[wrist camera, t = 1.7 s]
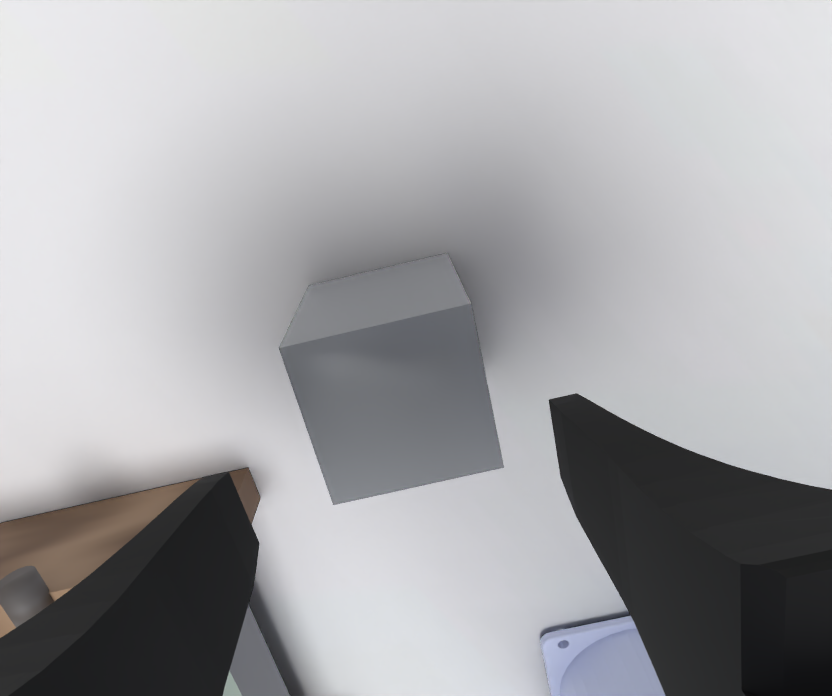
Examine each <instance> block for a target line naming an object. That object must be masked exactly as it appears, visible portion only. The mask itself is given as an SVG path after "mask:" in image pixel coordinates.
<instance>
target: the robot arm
mask: <svg viewBox="0 0 832 696" xmlns="http://www.w3.org/2000/svg"><path fill="white" fill-rule="evenodd" d="M549 405H550V411H551V418H552V424H553V430H554V437H555V443H556V450H557V456H558V463H559V469H560V476H561V479H562V482H563V484H564V487H565V489H566V492H567V495H568V497H569V500H570V502H571V505H572V507H573V509H574V512H575V514H576V517H577V518H578V520H579V522H580V524H581V526H582V528H583V530H584V531H585V533H586V535H587V537H588V539H589V540H590V542H591V544H592V546H593V548H594V549H595V551H596V553H597V555H598V557H599V558H600V560H601V562H602V564H603V566H604V567H605V569H606V571H607V573H608V574H609V576H610V578H611V580H612V582H613V583H614V585H615V587H616V589H617V591H618V592H619V594H620V596H621V598H622V600H623V601H624V603H625V605H626V607H627V609H628V611H629V613H630V615H631V616H626V617H621V618H617V619H612V620H607V621H602V622H597V623H592V624H587V625H583V626H578V627H573V628H568V629H563V630H558V631H554V632H549V633H546V634H545V635H543V636H542V638H541V639H540V643H541V649H542V654H543V659H544V664H545V669H546V674H547V679H548V684H549V689H550V694H551V696H832V490H830V489H825V488H820V487H814V486H809V485H805V484H800V483H795V482H791V481H786V480H782V479H778V478H775V477H771V476H767V475H763V474H759V473H756V472H752V471H748V470H745V469H741V468H738V467H735V466H731V465H728V464H725V463H723V462H720V461H717V460H714V459H711V458H708V457H705V456H703V455H700V454H697V453H694V452H692V451H689V450H687V449H684V448H682V447H679V446H677V445H675V444H673V443H670V442H668V441H666V440H664V439H661V438H659V437H657V436H655V435H653V434H651V433H649V432H647V431H645V430H643V429H641V428H639V427H637V426H635V425H633V424H631V423H629V422H627V421H625V420H623V419H621V418H620V417H618V416H616V415H614V414H612V413H611V412H609V411H607V410H605V409H604V408H602V407H600V406H598V405H596V404H595V403H593V402H591V401H590V400H588V399H586V398H584V397H582V396H581V395H579V394H577V393H576V394H572V395H568V396H563V397H559V398H554V399H550V400H549ZM258 549H259V541H258V539H257V537H256V534H255V532H254V530H253V527H252V525H251V522H250V520H249V518H248V515H247V513H246V511H245V508H244V506H243V504H242V501H241V499H240V497H239V494H238V492H237V490H236V487H235V485H234V482H233V480H232V478H231V475H230V473H229V472H224V473H220V474H215V475H211V476H206V477H202V478H201V479H200V480H198V481H197V482H195V483H194V484H193V485H192V486H190V487H189V488H188V489H187V490H186V491H185V492H183V493H182V494H181V495H180V496H179V497H178V498H177V499H175V500H174V501H173V502H172V503H171V504H170V505H169V506H168V507H167V508H166V509H164V510H163V511H162V512H161V513H160V514H159V515H158V516H157V517H156V518H154V519H153V520H152V521H151V522H150V523H149V524H148V525H147V526H146V527H145V528H143V529H142V530H141V531H140V532H139V533H138V534H137V535H136V536H135V537H133V538H132V539H131V540H130V541H129V542H128V543H126V544H125V545H124V546H123V547H122V548H121V549H119V550H118V551H117V552H116V553H115V554H114V555H112V556H111V557H110V558H109V559H108V560H106V561H105V562H104V563H103V564H102V565H101V566H99V567H98V568H97V569H96V570H95V571H94V572H92V573H91V574H90V575H89V576H87V577H86V578H85V579H84V580H82V581H81V582H80V583H78V584H77V585H76V586H74V587H73V588H72V589H71V590H69V591H68V592H67V593H65V594H64V595H62V596H61V597H60V598H58V599H57V600H56V601H54V602H53V603H52V604H50V605H49V606H47V607H46V608H45V609H43V610H42V611H40V612H39V613H38V614H36V615H35V616H33V617H32V618H30V619H29V620H27V621H26V622H24V623H23V624H21V625H20V626H18V627H16V628H15V629H13V630H12V631H10V632H9V633H7V634H6V635H4V636H3V637H1V638H0V696H223V692H224V688H225V684H226V681H227V677H228V674H229V670H230V667H231V664H232V660H233V657H234V653H235V650H236V646H237V643H238V639H239V636H240V632H241V629H242V626H243V622H244V619H245V615H246V611H247V608H248V604H249V601H250V597H251V593H252V589H253V586H254V579H255V573H256V566H257V558H258ZM562 640H563V641H562Z"/></svg>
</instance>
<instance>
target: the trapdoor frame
mask: <svg viewBox="0 0 832 696" xmlns="http://www.w3.org/2000/svg"><path fill="white" fill-rule="evenodd" d="M229 473H230V475H231V478H232V480H233V482H234V485H235V487H236V490H237V492H238V494H239V497H240V499H241V501H242V504H243V506H244V508H245V511H246V513H247V515H248V518H249V520H250V522H251V524H252V521H253V518H254V515H255V513H256V510H257V507H258V504H259V501H260V496H259V493H258V491H257V488H256V486H255V483H254V481H253V478H252V476H251V473H250V471H249V468H245V469H240V470H236V471H231V472H229ZM200 479H201V478H200ZM200 479H195V480H191V481H186V482H182V483H178V484H173V485H169V486H164V487H160V488H155V489H151V490H146V491H142V492H137V493H133V494H128V495H124V496H119V497H115V498H110V499H106V500H102V501H97V502H93V503H88V504H84V505H79V506H75V507H70V508H66V509H61V510H57V511H52V512H48V513H43V514H39V515H34V516H30V517H26V518H21V519H17V520H12V521H8V522H3V523H0V638H1V637H3V636H4V635H6V634H7V633H9V632H10V631H12V630H13V629H15V628H16V627H18V626H20V625H21V624H23V623H24V622H26V621H27V620H29V619H30V618H32V617H33V616H35V615H36V614H38V613H39V612H40V611H42V610H43V609H45V608H46V607H47V606H49V605H50V604H52V603H53V602H54V601H56V600H57V599H58V598H60V597H61V596H62V595H64V594H65V593H67V592H68V591H69V590H71V589H72V588H73V587H74V586H76V585H77V584H78V583H80V582H81V581H82V580H84V579H85V578H86V577H87V576H89V575H90V574H91V573H92V572H94V571H95V570H96V569H97V568H98V567H99V566H101V565H102V564H103V563H104V562H105V561H106V560H108V559H109V558H110V557H111V556H112V555H114V554H115V553H116V552H117V551H118V550H119V549H121V548H122V547H123V546H124V545H125V544H126V543H128V542H129V541H130V540H131V539H132V538H133V537H135V536H136V535H137V534H138V533H139V532H140V531H141V530H142V529H143V528H145V527H146V526H147V525H148V524H149V523H150V522H151V521H152V520H153V519H154V518H156V517H157V516H158V515H159V514H160V513H161V512H162V511H163V510H164V509H166V508H167V507H168V506H169V505H170V504H171V503H172V502H173V501H174V500H175V499H177V498H178V497H179V496H180V495H181V494H182V493H183V492H185V491H186V490H187V489H188V488H189V487H190V486H192V485H193V484H194V483H195V482H197V481H198V480H200Z"/></svg>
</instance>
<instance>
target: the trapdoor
mask: <svg viewBox="0 0 832 696" xmlns="http://www.w3.org/2000/svg"><path fill="white" fill-rule="evenodd" d="M223 696H290V694H289V692H288V690H287V688H286V686H285V683H284V681H283V679H282V677H281V675H280V673H279V670H278V668H277V666H276V664H275V662H274V659H273V657H272V655H271V653H270V651H269V648H268V646H267V644H266V642H265V640H264V637H263V635H262V633H261V631H260V629H259V626H258V624H257V622H256V620H255V618H254V615H253V613H252V611H251V609H250V607H249V604H248V608H247V611H246V615H245V619H244V622H243V626H242V629H241V632H240V636H239V639H238V643H237V646H236V650H235V653H234V657H233V660H232V664H231V667H230V670H229V674H228V677H227V681H226V684H225V688H224V692H223Z"/></svg>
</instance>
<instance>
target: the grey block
mask: <svg viewBox="0 0 832 696" xmlns="http://www.w3.org/2000/svg"><path fill="white" fill-rule="evenodd" d="M279 350H280V353H281V356H282V358H283V361H284V364H285V367H286V370H287V373H288V376H289V379H290V382H291V384H292V387H293V390H294V393H295V396H296V399H297V402H298V405H299V407H300V410H301V413H302V416H303V419H304V422H305V425H306V428H307V431H308V433H309V436H310V439H311V442H312V445H313V448H314V451H315V454H316V456H317V459H318V462H319V465H320V468H321V471H322V474H323V477H324V480H325V482H326V485H327V488H328V491H329V494H330V497H331V500H332V503H333V505H336V504H340V503H345V502H349V501H354V500H358V499H363V498H368V497H372V496H377V495H381V494H386V493H390V492H395V491H399V490H404V489H408V488H413V487H417V486H422V485H427V484H431V483H436V482H440V481H445V480H449V479H454V478H458V477H463V476H467V475H472V474H476V473H481V472H486V471H490V470H495V469H499V468H504V465H503V460H502V455H501V450H500V445H499V440H498V435H497V430H496V425H495V420H494V415H493V410H492V405H491V400H490V395H489V390H488V385H487V380H486V375H485V370H484V365H483V360H482V355H481V350H480V345H479V340H478V335H477V330H476V325H475V320H474V315H473V310H472V305H471V302H470V300H469V298H468V295H467V293H466V291H465V289H464V287H463V285H462V283H461V281H460V278H459V276H458V274H457V272H456V270H455V268H454V266H453V264H452V261H451V259H450V257H449V255H448V253H444V254H440V255H436V256H431V257H427V258H423V259H419V260H414V261H410V262H406V263H402V264H397V265H393V266H389V267H385V268H380V269H376V270H372V271H368V272H364V273H359V274H355V275H351V276H347V277H342V278H338V279H334V280H330V281H325V282H321V283H317V284H313V285H309V286H308V288H307V290H306V292H305V295H304V297H303V299H302V301H301V303H300V305H299V307H298V309H297V311H296V313H295V316H294V318H293V320H292V322H291V324H290V326H289V328H288V330H287V332H286V334H285V336H284V339H283V341H282V343H281V345H280V347H279Z"/></svg>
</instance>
